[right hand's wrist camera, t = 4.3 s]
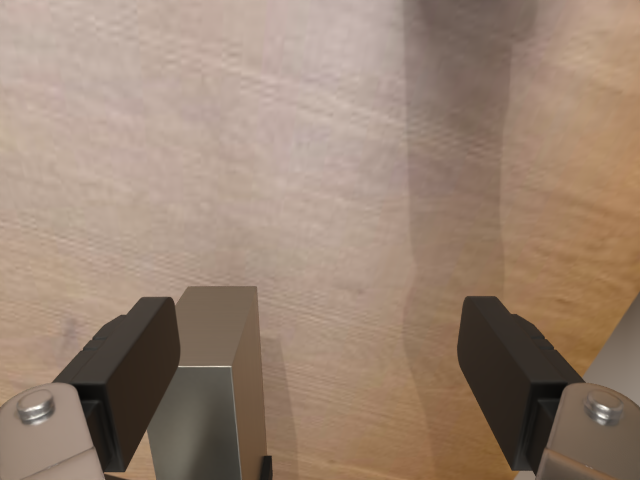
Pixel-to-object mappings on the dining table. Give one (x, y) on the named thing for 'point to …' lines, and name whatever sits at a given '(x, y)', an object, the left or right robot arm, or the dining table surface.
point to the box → (213, 391)
